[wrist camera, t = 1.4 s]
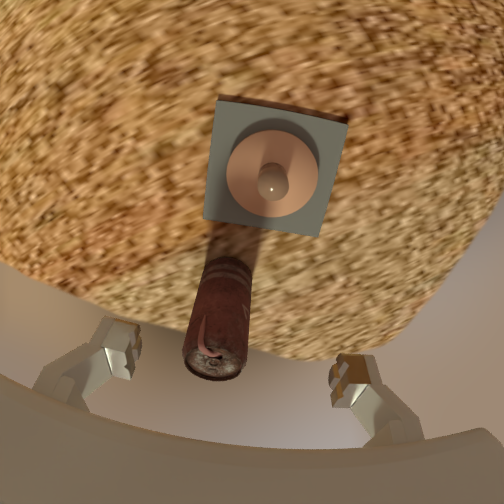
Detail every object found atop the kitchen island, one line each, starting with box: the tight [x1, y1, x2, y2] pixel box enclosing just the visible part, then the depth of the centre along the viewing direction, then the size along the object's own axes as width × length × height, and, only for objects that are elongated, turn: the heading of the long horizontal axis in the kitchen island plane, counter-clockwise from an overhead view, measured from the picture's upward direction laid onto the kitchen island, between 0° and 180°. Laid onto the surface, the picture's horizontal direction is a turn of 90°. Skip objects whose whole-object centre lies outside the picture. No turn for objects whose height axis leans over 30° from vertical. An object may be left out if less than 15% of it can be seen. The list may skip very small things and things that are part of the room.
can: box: [182, 257, 252, 381], centre depth 32 cm, size 6×6×14 cm
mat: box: [203, 100, 349, 237], centre depth 31 cm, size 13×13×1 cm
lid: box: [226, 129, 318, 217], centre depth 28 cm, size 9×9×4 cm
